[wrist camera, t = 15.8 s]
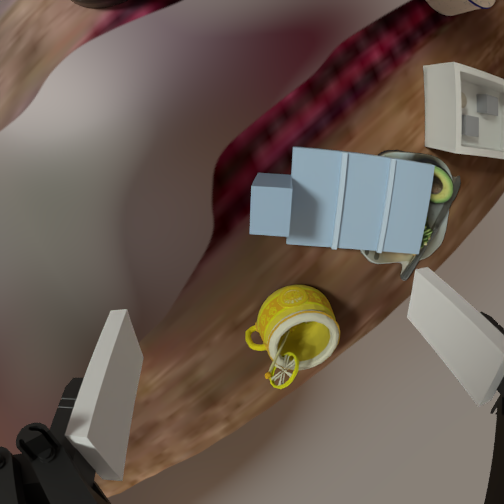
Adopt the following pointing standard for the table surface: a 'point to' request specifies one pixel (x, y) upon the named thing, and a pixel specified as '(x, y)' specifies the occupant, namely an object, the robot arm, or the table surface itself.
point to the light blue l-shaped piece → (344, 201)
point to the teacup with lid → (458, 6)
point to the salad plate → (437, 213)
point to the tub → (464, 110)
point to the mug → (295, 330)
